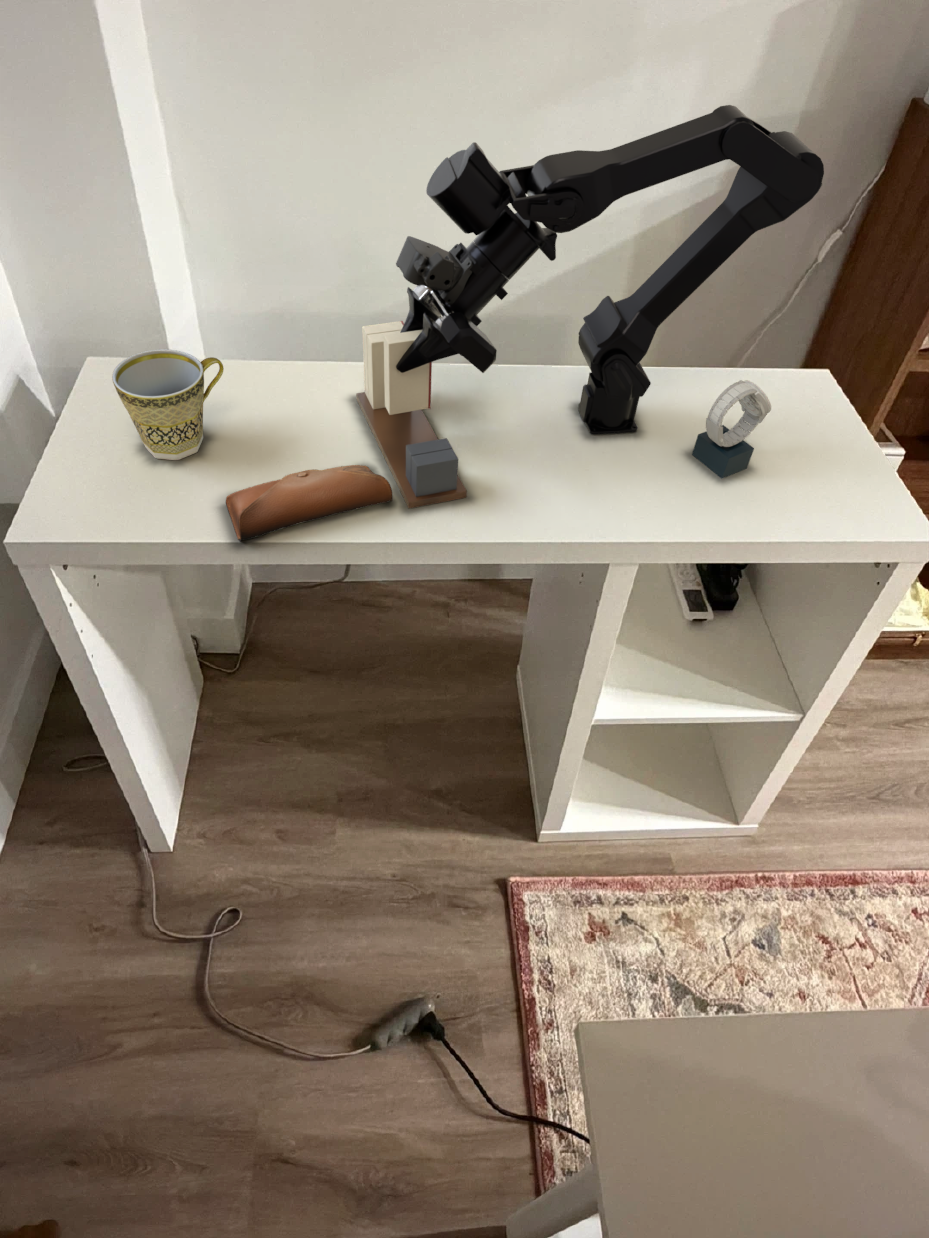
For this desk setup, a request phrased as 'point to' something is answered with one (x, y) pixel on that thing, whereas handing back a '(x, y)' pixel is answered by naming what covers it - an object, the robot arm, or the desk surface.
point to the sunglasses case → (304, 498)
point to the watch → (728, 446)
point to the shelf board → (404, 448)
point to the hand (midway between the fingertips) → (395, 364)
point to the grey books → (431, 467)
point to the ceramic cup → (165, 399)
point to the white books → (376, 360)
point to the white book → (404, 377)
